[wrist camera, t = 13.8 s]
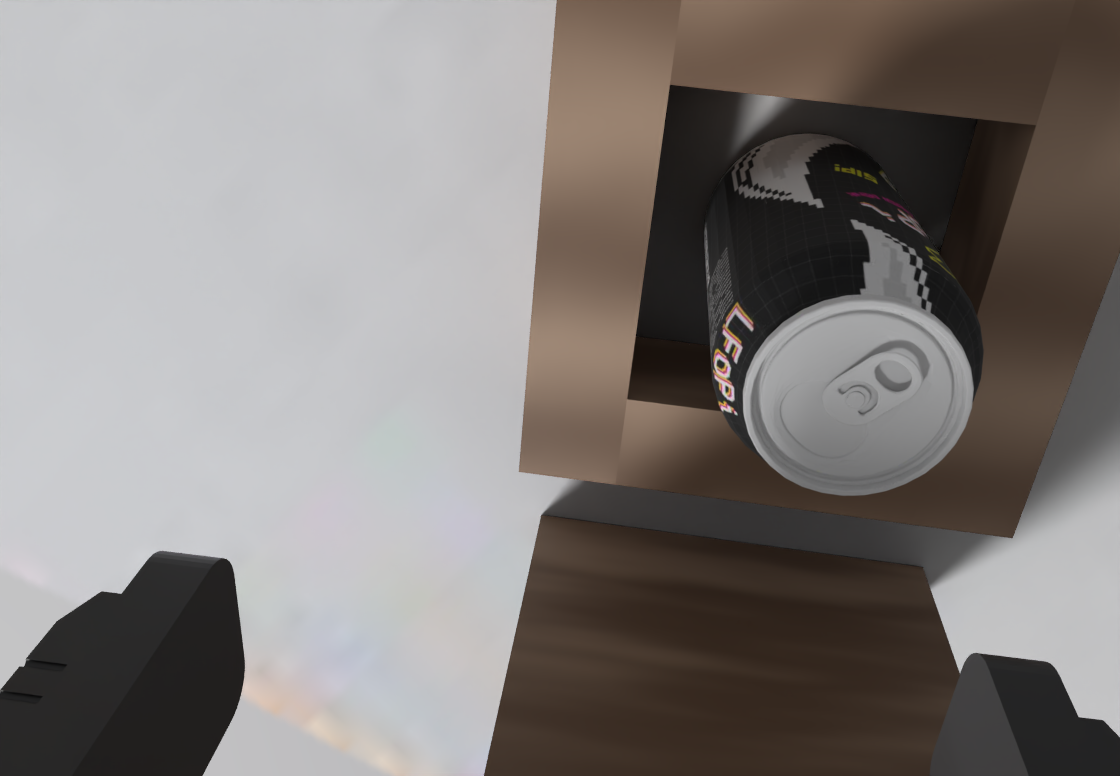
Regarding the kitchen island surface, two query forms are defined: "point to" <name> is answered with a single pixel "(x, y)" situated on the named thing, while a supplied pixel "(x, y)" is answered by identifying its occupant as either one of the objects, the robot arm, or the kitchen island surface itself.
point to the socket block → (968, 250)
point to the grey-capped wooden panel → (718, 661)
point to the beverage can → (834, 320)
